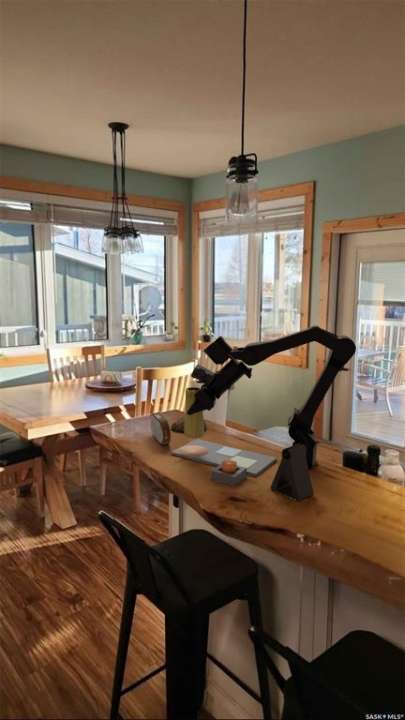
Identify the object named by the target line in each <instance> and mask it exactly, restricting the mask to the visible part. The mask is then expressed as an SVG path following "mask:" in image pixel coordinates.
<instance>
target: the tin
mask: <svg viewBox="0 0 405 720" xmlns="http://www.w3.org/2000/svg"><path fill="white" fill-rule="evenodd" d="M149 416H150V417H149V418H150V430H151V433H152V436H153V437H154V438H155V440H156V441H157V442H158V443H159V444H160V445H170V443H171V436H172V434H171V426H170V424H169V422H168V419H167V418H166V417H165V416H164V415H163V414H162V413H161V412H160V411H157V412H152V413H151V414H150V415H149Z"/></svg>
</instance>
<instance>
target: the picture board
mask: <svg viewBox="0 0 405 720" xmlns="http://www.w3.org/2000/svg"><path fill="white" fill-rule="evenodd" d="M170 454H171V455H174V456H176V457H179V458H184V459H188V460H191V461H196V462H199V463H203V464H206V465H210V466H215V467H217V466H219V465H221V464H222V461H224V460H233V461H235V462H237V466H241V467H245V468H247V475H248V476H253V477H257V476H259V475H260V474H261V473H263V472H264V471H265V470H266V469H268V468H269V467H270V466H271V465H273V464H274V463H275V462H277V461H278V458H277V457H275V456H272V455H271V456H270V455H267V454H262V453H259V452H253V451H249V450H245V449H242V448H236V447H231V446H228V445H223V444H220V443H217V442H216V443H215V442H211V441H207V440H203V439H200V438H195V439H194V440H191V441H190V442H188V443H186V444H185V445H182V446H180V447H178V448H176V449H174V450H172V451H171V452H170Z"/></svg>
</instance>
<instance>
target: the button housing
mask: <svg viewBox="0 0 405 720" xmlns="http://www.w3.org/2000/svg"><path fill="white" fill-rule="evenodd" d="M245 478H247V468H245V467H241V466H237V471H236V472H235V473H226V472H222V464H221V465H219V466H215V467H214V468H213V469H211V470H210V480H211V481H215V482H219V483H222V484H226V485H227V486H228V485H230V486H231V487H232V486H233V487H235V486H236V485H238V484H239V483H240V482H242V481H243V480H244V479H245Z"/></svg>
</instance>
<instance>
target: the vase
mask: <svg viewBox="0 0 405 720" xmlns="http://www.w3.org/2000/svg"><path fill="white" fill-rule="evenodd" d="M200 388H201V386H189V387H186V388H185V402H184V403H185V408H184V409H185V410H184V416H185V426H184V432H183V435H184V437H185V438H189V439H200V438H203V437H204V436H205V431H204V422H203V420H204V411H201V412H198V413H195V414H192V415H188V414H187V411H188V410H189V408H190V407H191V406H192V404H193V403H194V402H195V400H196V399H195V396H194V394H195V393H196V392H197V391H198V390H199V389H200Z"/></svg>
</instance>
